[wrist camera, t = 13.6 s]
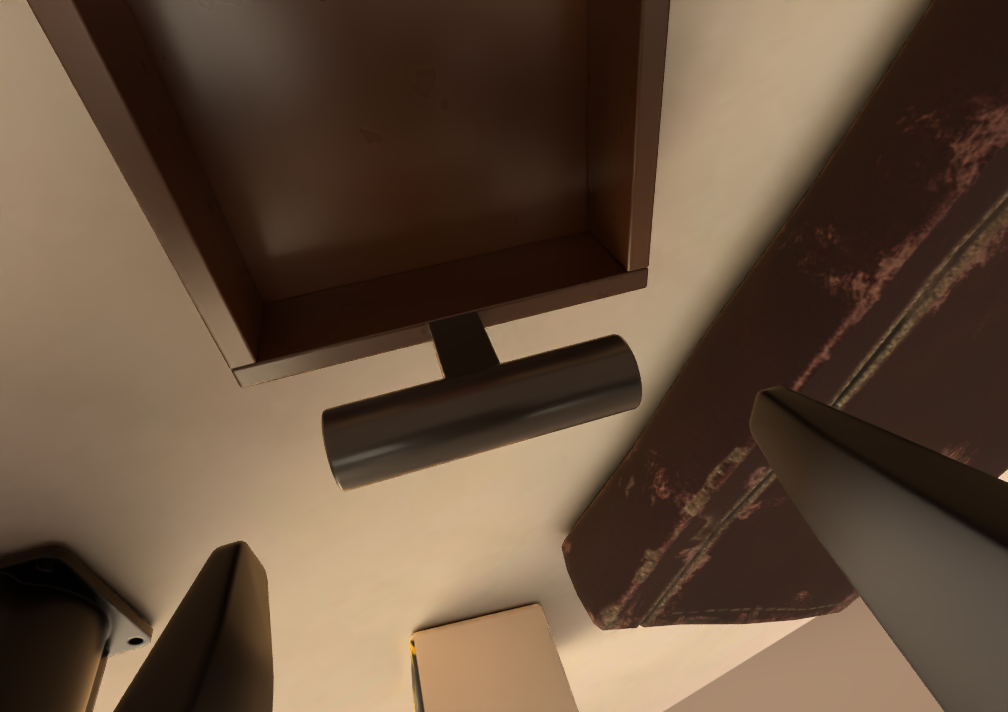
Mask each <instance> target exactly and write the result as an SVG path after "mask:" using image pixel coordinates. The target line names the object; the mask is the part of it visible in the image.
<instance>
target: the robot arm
mask: <svg viewBox="0 0 1008 712" xmlns="http://www.w3.org/2000/svg"><path fill="white" fill-rule="evenodd" d="M749 426H750V430H751V433H752V435H753V437H754V439H755V441H756V442H757V444H758V446H759V447H760V449H761V451H762V453H763V454H764V456H765V458H766V459H767V461H768V463H769V464H770V466H771V468H772V470H773V471H774V473H775V475H776V476H777V478H778V480H779V482H780V483H781V485H782V487H783V488H784V490H785V492H786V494H787V495H788V497H789V498H790V500H791V502H792V503H793V505H794V506H795V508H796V509H797V511H798V512H799V513H800V515H801V516H802V518H803V519H804V520H805V522H806V523H807V524H808V526H809V527H810V529H811V530H812V531H813V533H814V534H815V535H816V537H817V538H818V540H819V541H820V542H821V544H822V545H823V546H824V548H825V549H826V550H827V552H828V553H829V555H830V556H831V557H832V559H833V560H834V561H835V563H836V564H837V565H838V567H839V568H840V570H841V571H842V572H843V574H844V575H845V576H846V578H847V579H848V580H849V582H850V583H851V585H852V586H853V587H854V589H855V590H856V591H857V593H858V594H859V596H860V597H861V598H862V600H863V601H864V602H865V604H866V605H867V606H868V608H869V609H870V611H872V613H873V615H874V616H875V617H876V619H877V620H878V621H879V623H880V624H881V625H882V627H883V628H884V630H885V631H886V632H887V633H888V635H889V637H890V638H891V639H892V640H893V642H894V643H895V645H896V646H897V647H898V649H899V650H900V652H901V653H902V654H903V656H904V657H905V658H906V660H907V661H908V662H909V664H910V665H911V667H912V668H913V669H914V671H915V672H916V673H917V675H918V676H919V678H920V679H921V680H922V682H923V683H924V684H925V686H926V687H927V688H928V690H929V691H930V692H931V694H932V695H933V697H934V698H935V699H936V701H937V702H938V703H939V705H940V706H941V708H942V709H943V710H944V712H1008V482H1005V481H1003V480H1001V479H998V478H996V477H994V476H991V475H989V474H987V473H984V472H982V471H980V470H977V469H975V468H973V467H970V466H968V465H966V464H963V463H961V462H959V461H956V460H954V459H952V458H950V457H947V456H945V455H943V454H940V453H938V452H936V451H933V450H931V449H929V448H926V447H924V446H922V445H919V444H917V443H915V442H912V441H910V440H908V439H905V438H903V437H901V436H898V435H896V434H894V433H891V432H889V431H887V430H884V429H882V428H880V427H877V426H875V425H873V424H870V423H868V422H866V421H864V420H861V419H859V418H857V417H854V416H852V415H850V414H847V413H845V412H843V411H840V410H838V409H836V408H833V407H831V406H829V405H826V404H824V403H822V402H819V401H817V400H815V399H812V398H810V397H808V396H805V395H803V394H801V393H798V392H796V391H794V390H791V389H789V388H787V387H784V386H774V387H771V388H768V389H764V390H761V391H759V392H758V394H757V395H756V398H755V402H754V406H753V410H752V413H751V417H750V421H749ZM152 632H153V628H152V627H151V626H150V625H149V624H148V623H147V622H146V621H144V620H143V619H142V618H141V617H140V616H139V615H138V614H137V613H136V612H135V611H134V610H132V609H131V608H130V607H129V606H128V605H127V604H126V603H125V602H124V601H123V600H122V599H120V598H119V597H118V596H117V595H116V594H115V593H114V592H113V591H112V590H111V589H109V588H108V587H107V586H106V585H105V584H104V583H103V582H102V581H101V580H100V579H99V578H97V577H96V576H95V575H94V574H93V573H92V572H91V571H90V570H89V569H88V568H86V567H85V566H84V565H83V564H82V563H81V562H80V561H79V560H78V559H77V558H76V557H74V556H73V555H72V554H71V553H70V552H69V551H68V550H66V549H64V548H61V547H57V546H47V547H41V548H38V549H34V550H31V551H27V552H23V553H20V554H16V555H13V556H9V557H5V558H2V559H0V712H93V709H94V705H95V702H96V698H97V694H98V691H99V687H100V684H101V680H102V677H103V673H104V669H105V666H106V662H107V659H108V657H111V656H115V655H118V654H121V653H124V652H127V651H131V650H134V649H137V648H140V647H143V646H145V645H147V644H149V643H150V641H151V637H152ZM273 678H274V675H273V655H272V641H271V626H270V611H269V596H268V582H267V575H266V572H265V569H264V567H263V565H262V564H261V563H260V561H259V560H258V558H257V557H256V556H255V554H254V553H253V551H252V550H251V548H250V547H249V546H248V544H247V543H246V542H244V541H237V542H234V543H230V544H227V545H223V546H220V547H218V548H216V549H215V550H214V551H213V552H212V553H211V555H210V557H209V558H208V560H207V561H206V563H205V565H204V566H203V568H202V569H201V571H200V573H199V574H198V576H197V578H196V579H195V581H194V582H193V584H192V586H191V587H190V589H189V590H188V592H187V594H186V595H185V597H184V598H183V600H182V602H181V603H180V605H179V607H178V608H177V610H176V611H175V613H174V615H173V616H172V618H171V619H170V621H169V623H168V624H167V626H166V628H165V629H164V631H163V632H162V634H161V636H160V637H159V639H158V640H157V642H156V644H155V645H154V647H153V648H152V650H151V652H150V653H149V655H148V657H147V658H146V660H145V661H144V663H143V665H142V666H141V668H140V669H139V671H138V673H137V674H136V676H135V678H134V679H133V681H132V682H131V684H130V686H129V687H128V689H127V690H126V692H125V694H124V695H123V697H122V698H121V700H120V702H119V703H118V705H117V707H116V708H115V710H114V711H113V712H272V708H273Z"/></svg>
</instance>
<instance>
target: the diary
mask: <svg viewBox="0 0 1008 712" xmlns="http://www.w3.org/2000/svg"><path fill="white" fill-rule="evenodd" d="M774 386H784V387H787V388H789V389H791V390H794V391H796V392H798V393H801V394H803V395H805V396H808V397H810V398H812V399H815V400H817V401H819V402H822V403H824V404H826V405H829V406H831V407H833V408H836V409H838V410H840V411H843V412H845V413H847V414H850V415H852V416H854V417H857V418H859V419H861V420H864V421H866V422H868V423H870V424H873V425H875V426H877V427H880V428H882V429H884V430H887V431H889V432H891V433H894V434H896V435H898V436H901V437H903V438H905V439H908V440H910V441H912V442H915V443H917V444H919V445H922V446H924V447H926V448H929V449H931V450H933V451H936V452H938V453H940V454H943V455H945V456H947V457H950V458H952V459H954V460H956V461H959V462H961V463H963V464H966V465H968V466H970V467H973V468H975V469H977V470H980V471H982V472H984V473H987V474H989V475H991V476H994V477H996V478H998V477H999V476H1000V475H1002V474H1003V473H1004V472H1005V471H1006V470H1007V469H1008V0H933V2H932V3H931V5H930V6H929V8H928V9H927V11H926V13H925V14H924V16H923V17H922V19H921V20H920V22H919V23H918V25H917V26H916V28H915V29H914V31H913V32H912V34H911V36H910V37H909V39H908V40H907V42H906V43H905V45H904V46H903V48H902V49H901V51H900V52H899V54H898V55H897V57H896V59H895V60H894V62H893V63H892V65H891V66H890V68H889V69H888V71H887V72H886V74H885V75H884V77H883V78H882V80H881V82H880V83H879V85H878V86H877V88H876V89H875V91H874V92H873V94H872V95H871V97H870V98H869V100H868V101H867V103H866V105H865V106H864V108H863V109H862V111H861V112H860V114H859V115H858V117H857V118H856V120H855V121H854V123H853V124H852V126H851V128H850V129H849V131H848V132H847V134H846V135H845V137H844V138H843V140H842V141H841V143H840V144H839V146H838V147H837V149H836V150H835V152H834V154H833V155H832V157H831V158H830V160H829V161H828V163H827V164H826V166H825V167H824V169H823V170H822V172H821V173H820V175H819V177H818V178H817V180H816V181H815V183H814V184H813V185H812V187H811V188H810V190H809V191H808V192H807V194H806V195H805V197H804V198H803V199H802V201H801V202H800V203H799V205H798V206H797V208H796V209H795V210H794V212H793V213H792V215H791V216H790V217H789V219H788V220H787V221H786V223H785V224H784V226H783V227H782V228H781V230H780V231H779V233H778V234H777V235H776V237H775V238H774V239H773V241H772V242H771V244H770V245H769V246H768V248H767V249H766V251H765V252H764V253H763V255H762V256H761V257H760V259H759V260H758V262H757V263H756V264H755V266H754V267H753V269H752V270H751V271H750V273H749V274H748V276H747V277H746V278H745V280H744V281H743V282H742V284H741V285H740V287H739V288H738V289H737V291H736V292H735V294H734V295H733V296H732V298H731V299H730V300H729V302H728V303H727V305H726V306H725V307H724V309H723V310H722V312H721V313H720V314H719V316H718V317H717V318H716V320H715V321H714V323H713V324H712V325H711V327H710V328H709V330H708V331H707V332H706V334H705V335H704V337H703V338H702V340H701V341H700V343H699V345H698V346H697V348H696V349H695V351H694V352H693V354H692V356H691V357H690V359H689V360H688V362H687V363H686V365H685V367H684V368H683V370H682V371H681V373H680V374H679V376H678V378H677V379H676V381H675V382H674V384H673V385H672V387H671V389H670V390H669V392H668V393H667V395H666V396H665V398H664V400H663V401H662V403H661V404H660V406H659V407H658V409H657V411H656V412H655V414H654V415H653V417H652V418H651V420H650V422H649V423H648V425H647V426H646V428H645V429H644V431H643V433H642V434H641V436H640V437H639V439H638V440H637V442H636V444H635V445H634V447H633V448H632V450H631V451H630V453H629V454H628V455H627V457H626V458H625V459H624V461H623V462H622V463H621V465H620V466H619V467H618V469H617V470H616V471H615V473H614V474H613V475H612V477H611V478H610V479H609V481H608V482H607V483H606V485H605V486H604V487H603V489H602V490H601V491H600V493H599V494H598V495H597V497H596V498H595V499H594V501H593V502H592V503H591V505H590V506H589V507H588V509H587V510H586V511H585V513H584V514H583V515H582V517H581V518H580V519H579V521H578V522H577V523H576V525H575V526H574V527H573V529H572V530H571V532H570V533H569V535H568V536H567V538H566V539H565V540H564V543H563V545H562V551H563V555H564V559H565V563H566V567H567V571H568V573H569V576H570V578H571V581H572V583H573V586H574V588H575V590H576V593H577V595H578V597H579V599H580V601H581V602H582V604H583V606H584V607H585V609H586V611H587V613H588V614H589V616H590V618H591V620H592V621H593V623H594V624H595V625H597V626H598V627H599V628H600V629H601V630H613V629H626V628H637V627H638V626H639V625H641V626H642V627H653V626H666V625H679V624H750V623H763V622H775V621H787V620H797V619H803V618H809V617H815V616H820V615H826V614H831V613H838V612H840V611H842V610H843V609H845V608H846V607H848V606H849V605H850V604H851V603H852V602H853V601H855V600H856V599H857V598H858V597H859V594H858V593H857V591H856V590H855V589H854V587H853V586H852V585H851V583H850V582H849V580H848V579H847V578H846V576H845V575H844V574H843V572H842V571H841V570H840V568H839V567H838V565H837V564H836V563H835V561H834V560H833V559H832V557H831V556H830V555H829V553H828V552H827V550H826V549H825V548H824V546H823V545H822V544H821V542H820V541H819V540H818V538H817V537H816V535H815V534H814V533H813V531H812V530H811V529H810V527H809V526H808V524H807V523H806V522H805V520H804V519H803V518H802V516H801V515H800V513H799V512H798V511H797V509H796V508H795V506H794V505H793V503H792V502H791V500H790V498H789V497H788V495H787V494H786V492H785V490H784V488H783V487H782V485H781V483H780V482H779V480H778V478H777V476H776V475H775V473H774V471H773V470H772V468H771V466H770V464H769V463H768V461H767V459H766V458H765V456H764V454H763V453H762V451H761V449H760V447H759V446H758V444H757V442H756V441H755V439H754V437H753V435H752V433H751V430H750V426H749V421H750V417H751V413H752V410H753V406H754V402H755V398H756V395H757V394H758V392H759V391H761V390H764V389H768V388H771V387H774Z"/></svg>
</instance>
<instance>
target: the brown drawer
mask: <svg viewBox="0 0 1008 712" xmlns="http://www.w3.org/2000/svg"><path fill="white" fill-rule="evenodd" d="M27 2H28V4H29V6H30V8H31V9H32V11H33V13H34V15H35V17H36V19H37V20H38V22H39V24H40V26H41V28H42V29H43V31H44V33H45V35H46V37H47V38H48V40H49V42H50V44H51V46H52V48H53V49H54V51H55V53H56V55H57V57H58V58H59V60H60V62H61V64H62V66H63V67H64V69H65V71H66V73H67V75H68V76H69V78H70V80H71V82H72V84H73V86H74V87H75V89H76V91H77V93H78V95H79V96H80V98H81V100H82V102H83V104H84V105H85V107H86V109H87V111H88V113H89V115H90V116H91V118H92V120H93V122H94V124H95V125H96V127H97V129H98V131H99V133H100V134H101V136H102V138H103V140H104V142H105V144H106V145H107V147H108V149H109V151H110V153H111V154H112V156H113V158H114V160H115V162H116V163H117V165H118V167H119V169H120V171H121V172H122V174H123V176H124V178H125V180H126V182H127V183H128V185H129V187H130V189H131V191H132V192H133V194H134V196H135V198H136V200H137V201H138V203H139V205H140V207H141V209H142V211H143V212H144V214H145V216H146V218H147V220H148V221H149V223H150V225H151V227H152V229H153V230H154V232H155V234H156V236H157V238H158V239H159V241H160V243H161V245H162V247H163V249H164V250H165V252H166V254H167V256H168V258H169V259H170V261H171V263H172V265H173V267H174V268H175V270H176V272H177V274H178V276H179V278H180V279H181V281H182V283H183V285H184V287H185V288H186V290H187V292H188V294H189V296H190V297H191V299H192V301H193V303H194V305H195V306H196V308H197V310H198V312H199V314H200V316H201V317H202V319H203V321H204V323H205V325H206V326H207V328H208V330H209V332H210V334H211V335H212V337H213V339H214V341H215V343H216V345H217V346H218V348H219V350H220V352H221V354H222V355H223V357H224V359H225V361H226V363H227V364H228V366H229V368H230V369H231V371H232V373H233V375H234V376H235V378H236V380H237V382H238V384H239V385H240V387H241V388H244V387H248V386H252V385H256V384H260V383H264V382H268V381H272V380H276V379H280V378H284V377H288V376H292V375H296V374H300V373H305V372H309V371H313V370H317V369H321V368H325V367H329V366H333V365H337V364H341V363H345V362H349V361H353V360H357V359H361V358H365V357H369V356H373V355H377V354H381V353H385V352H389V351H393V350H397V349H401V348H405V347H409V346H413V345H417V344H421V343H425V342H429V341H432V342H433V346H434V349H435V352H436V355H437V359H438V362H439V365H440V368H441V372H442V375H443V379H439V380H436V381H432V382H428V383H424V384H420V385H416V386H413V387H409V388H405V389H401V390H397V391H393V392H390V393H386V394H382V395H378V396H374V397H371V398H367V399H363V400H359V401H355V402H351V403H348V404H344V405H340V406H336V407H332V408H328V409H326V410H324V411H323V414H322V434H323V440H324V446H325V450H326V454H327V458H328V462H329V465H330V468H331V471H332V474H333V476H334V479H335V481H336V483H337V485H338V486H339V488H340V489H341V490H342V491H349V490H353V489H356V488H360V487H363V486H367V485H370V484H374V483H377V482H381V481H384V480H388V479H391V478H395V477H398V476H402V475H405V474H409V473H412V472H416V471H419V470H423V469H426V468H430V467H433V466H437V465H440V464H444V463H447V462H450V461H454V460H457V459H461V458H464V457H468V456H471V455H475V454H478V453H482V452H485V451H489V450H492V449H496V448H499V447H503V446H506V445H510V444H513V443H517V442H520V441H524V440H527V439H531V438H534V437H538V436H541V435H545V434H548V433H552V432H555V431H559V430H562V429H566V428H569V427H573V426H576V425H580V424H583V423H587V422H590V421H594V420H597V419H601V418H604V417H608V416H611V415H615V414H618V413H622V412H625V411H629V410H632V409H635V408H637V407H638V406H639V404H640V402H641V398H642V384H641V377H640V373H639V369H638V365H637V362H636V360H635V357H634V355H633V353H632V351H631V349H630V347H629V345H628V344H627V343H626V341H625V340H624V339H623V338H622V337H621V336H619V335H616V334H612V335H608V336H604V337H600V338H597V339H593V340H589V341H585V342H581V343H577V344H574V345H570V346H566V347H562V348H558V349H554V350H551V351H547V352H543V353H539V354H535V355H531V356H528V357H524V358H520V359H516V360H512V361H508V362H505V363H501V364H500V362H499V359H498V357H497V355H496V353H495V350H494V348H493V346H492V344H491V342H490V339H489V337H488V335H487V333H486V330H485V327H489V326H493V325H497V324H501V323H505V322H509V321H513V320H517V319H521V318H525V317H529V316H533V315H537V314H541V313H545V312H549V311H553V310H557V309H561V308H565V307H569V306H573V305H577V304H581V303H585V302H589V301H593V300H597V299H601V298H605V297H609V296H613V295H617V294H622V293H626V292H630V291H634V290H638V289H642V288H645V287H646V286H647V278H648V268H647V267H648V265H649V254H650V241H651V229H652V217H653V205H654V193H655V180H656V168H657V156H658V144H659V131H660V119H661V107H662V95H663V82H664V70H665V58H666V46H667V33H668V21H669V9H670V0H27Z"/></svg>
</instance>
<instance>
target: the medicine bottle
mask: <svg viewBox="0 0 1008 712" xmlns="http://www.w3.org/2000/svg"><path fill="white" fill-rule="evenodd" d="M410 649H411V670H412V690H413V702H414V709H415V712H579V711H578V708H577V706H576V703H575V700H574V697H573V694H572V691H571V688H570V686H569V683H568V680H567V677H566V674H565V671H564V668H563V666H562V663H561V660H560V657H559V654H558V651H557V648H556V645H555V643H554V640H553V637H552V634H551V631H550V628H549V625H548V623H547V620H546V617H545V614H544V611H543V608H542V607H541V605H538V604H533V605H529V606H525V607H520V608H516V609H512V610H508V611H503V612H499V613H495V614H491V615H486V616H482V617H478V618H474V619H470V620H465V621H461V622H457V623H453V624H448V625H444V626H440V627H436V628H431V629H427V630H423V631H419V632H415V633H414V634H413V635H412V636H411V639H410Z"/></svg>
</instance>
